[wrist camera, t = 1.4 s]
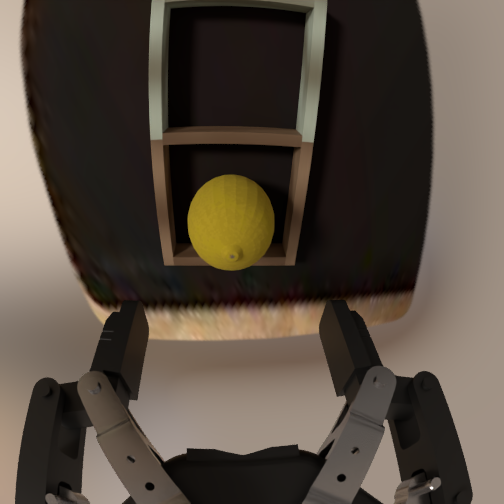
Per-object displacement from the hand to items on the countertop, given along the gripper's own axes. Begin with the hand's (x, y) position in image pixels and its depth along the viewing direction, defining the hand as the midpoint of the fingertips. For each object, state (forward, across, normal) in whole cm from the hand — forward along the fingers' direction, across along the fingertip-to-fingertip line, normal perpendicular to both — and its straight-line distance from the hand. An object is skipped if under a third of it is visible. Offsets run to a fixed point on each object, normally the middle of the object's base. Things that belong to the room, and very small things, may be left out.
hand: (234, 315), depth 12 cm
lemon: (+12, 0, 0) cm, 12 cm away
